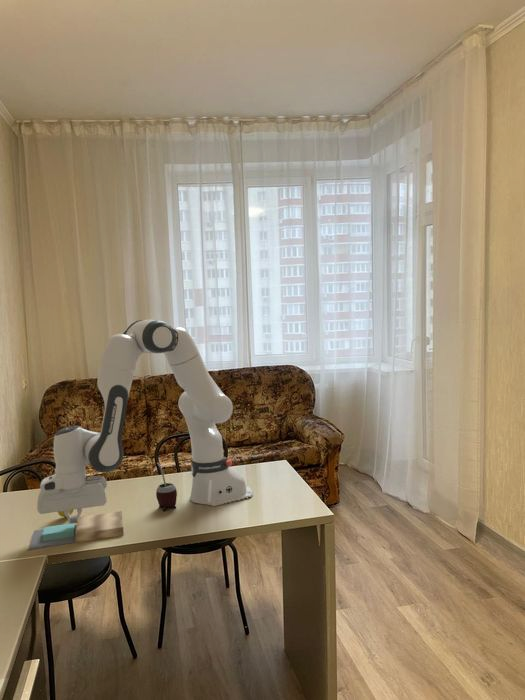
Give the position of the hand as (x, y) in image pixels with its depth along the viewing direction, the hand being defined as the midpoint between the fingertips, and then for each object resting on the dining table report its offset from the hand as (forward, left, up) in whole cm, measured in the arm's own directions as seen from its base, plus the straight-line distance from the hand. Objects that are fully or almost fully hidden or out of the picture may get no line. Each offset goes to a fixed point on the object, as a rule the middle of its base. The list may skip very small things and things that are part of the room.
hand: (74, 522), depth 168 cm
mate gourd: (-30, -11, -4) cm, 32 cm away
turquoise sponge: (+4, 0, -3) cm, 6 cm away
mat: (+6, 0, -4) cm, 7 cm away
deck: (-8, 0, -4) cm, 8 cm away
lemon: (+3, -15, -4) cm, 16 cm away
